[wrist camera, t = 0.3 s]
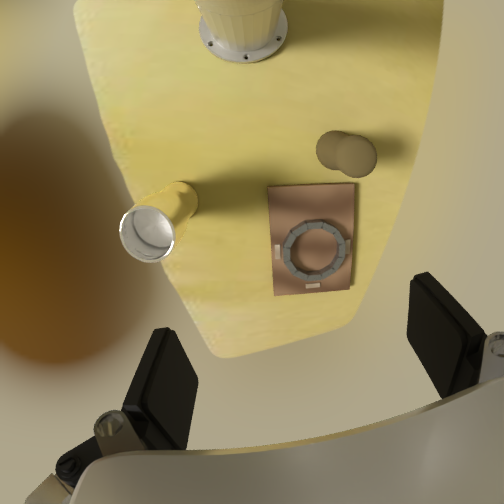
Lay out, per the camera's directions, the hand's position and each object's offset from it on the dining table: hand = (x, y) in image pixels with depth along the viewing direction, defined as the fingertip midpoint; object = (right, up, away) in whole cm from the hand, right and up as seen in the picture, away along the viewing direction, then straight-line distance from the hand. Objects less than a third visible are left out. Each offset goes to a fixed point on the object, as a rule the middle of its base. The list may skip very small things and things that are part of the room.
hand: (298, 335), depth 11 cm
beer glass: (-13, +11, +33) cm, 37 cm away
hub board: (+8, +5, +36) cm, 37 cm away
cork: (+11, +18, +30) cm, 37 cm away
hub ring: (+8, +4, +35) cm, 36 cm away
